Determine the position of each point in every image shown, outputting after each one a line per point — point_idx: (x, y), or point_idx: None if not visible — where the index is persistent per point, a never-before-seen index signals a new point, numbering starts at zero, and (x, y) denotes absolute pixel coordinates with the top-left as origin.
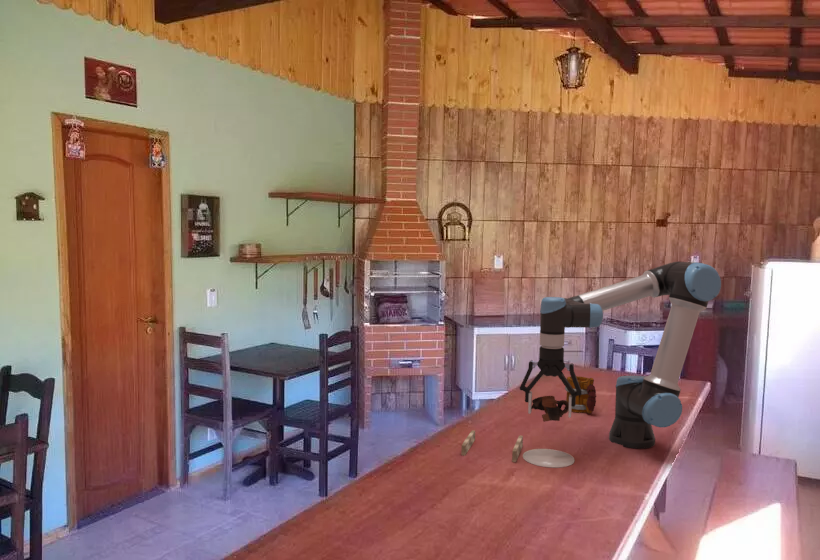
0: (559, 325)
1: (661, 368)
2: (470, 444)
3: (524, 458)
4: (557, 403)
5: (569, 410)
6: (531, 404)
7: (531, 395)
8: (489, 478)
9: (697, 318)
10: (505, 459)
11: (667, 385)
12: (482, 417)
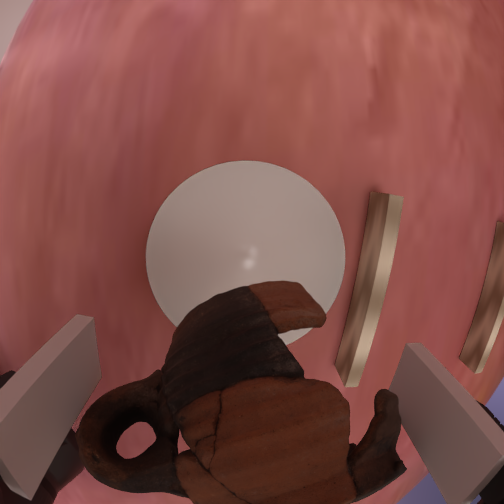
0: None
1: None
2: (486, 299)
3: (340, 230)
4: (174, 456)
5: (58, 344)
6: (414, 421)
7: (464, 465)
8: (430, 47)
9: None
10: (403, 216)
11: None
12: (394, 491)
